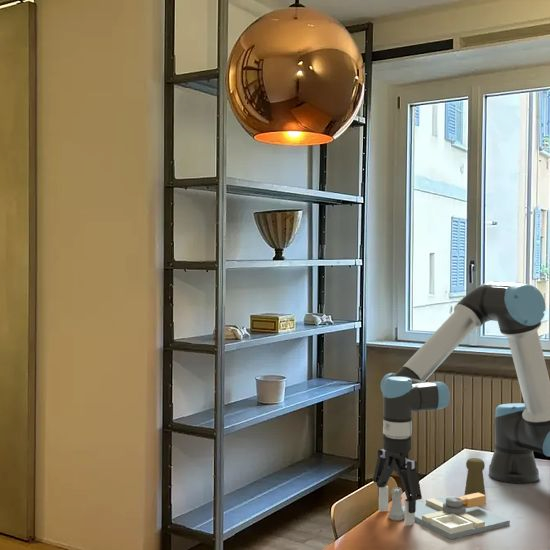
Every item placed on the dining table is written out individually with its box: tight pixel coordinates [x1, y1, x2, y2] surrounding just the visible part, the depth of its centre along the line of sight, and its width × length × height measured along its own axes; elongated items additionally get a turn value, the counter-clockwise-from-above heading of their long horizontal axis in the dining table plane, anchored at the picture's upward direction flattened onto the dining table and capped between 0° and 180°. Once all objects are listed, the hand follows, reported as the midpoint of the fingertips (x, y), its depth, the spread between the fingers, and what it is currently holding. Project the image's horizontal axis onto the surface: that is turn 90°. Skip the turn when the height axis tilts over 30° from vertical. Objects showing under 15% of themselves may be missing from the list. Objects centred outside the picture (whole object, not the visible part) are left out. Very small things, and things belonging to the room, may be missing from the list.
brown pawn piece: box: [463, 457, 486, 496], centre depth 212 cm, size 6×6×11 cm
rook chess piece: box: [387, 486, 405, 522], centre depth 194 cm, size 4×4×8 cm
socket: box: [431, 514, 473, 534], centre depth 185 cm, size 7×7×2 cm
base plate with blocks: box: [402, 495, 510, 540], centre depth 195 cm, size 20×22×4 cm
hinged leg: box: [446, 492, 487, 508], centre depth 195 cm, size 12×4×2 cm, turn 118°
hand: (396, 517), depth 194 cm, fingers open, 10 cm apart
